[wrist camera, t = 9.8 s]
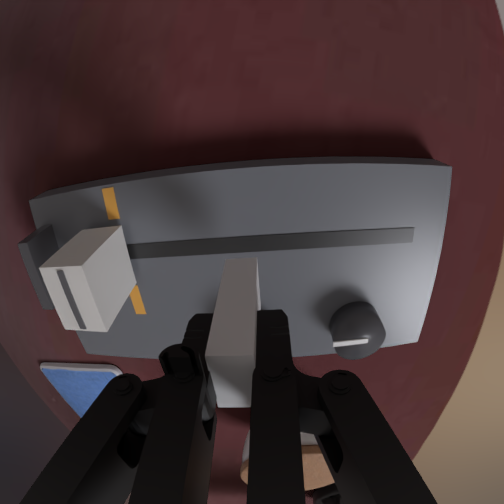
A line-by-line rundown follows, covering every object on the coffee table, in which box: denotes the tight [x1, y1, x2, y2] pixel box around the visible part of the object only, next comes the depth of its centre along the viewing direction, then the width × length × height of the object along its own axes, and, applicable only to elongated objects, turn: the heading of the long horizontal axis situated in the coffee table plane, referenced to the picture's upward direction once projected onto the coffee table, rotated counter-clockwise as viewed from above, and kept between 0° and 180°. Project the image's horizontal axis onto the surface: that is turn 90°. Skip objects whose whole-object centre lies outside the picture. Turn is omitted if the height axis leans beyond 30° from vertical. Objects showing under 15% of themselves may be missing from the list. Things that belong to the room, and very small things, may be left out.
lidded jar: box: [240, 430, 334, 490], centre depth 25 cm, size 11×11×9 cm
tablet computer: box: [40, 362, 123, 418], centre depth 32 cm, size 19×13×1 cm, turn 11°
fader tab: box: [39, 225, 137, 332], centre depth 16 cm, size 4×3×5 cm
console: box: [18, 157, 452, 360], centre depth 19 cm, size 14×28×5 cm, turn 95°
